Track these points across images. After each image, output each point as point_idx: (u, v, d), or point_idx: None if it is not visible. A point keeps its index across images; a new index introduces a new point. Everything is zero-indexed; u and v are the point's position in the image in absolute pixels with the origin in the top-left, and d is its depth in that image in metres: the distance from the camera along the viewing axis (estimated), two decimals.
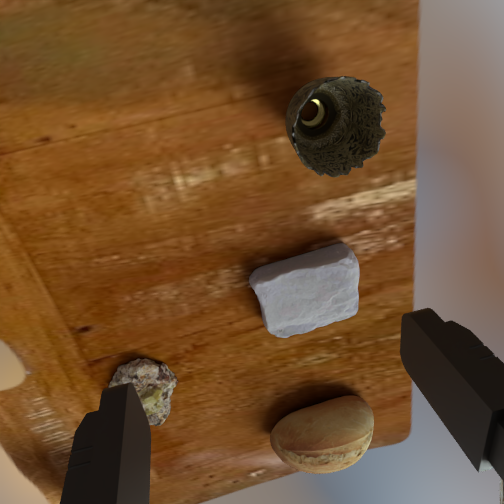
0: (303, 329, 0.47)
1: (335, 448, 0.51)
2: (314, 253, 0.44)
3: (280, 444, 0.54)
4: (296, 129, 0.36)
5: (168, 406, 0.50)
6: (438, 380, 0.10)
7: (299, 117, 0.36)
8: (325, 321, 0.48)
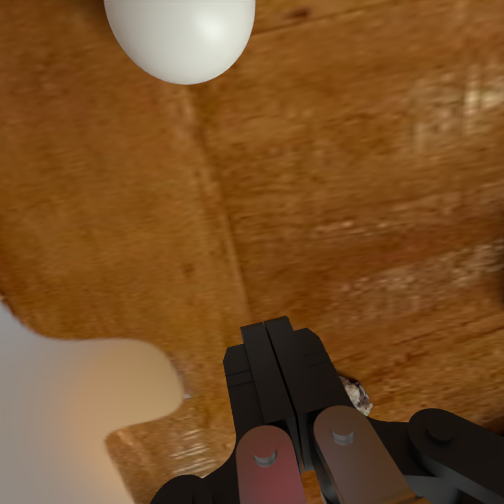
0: None
1: None
2: None
3: None
4: None
5: None
6: None
7: None
8: None
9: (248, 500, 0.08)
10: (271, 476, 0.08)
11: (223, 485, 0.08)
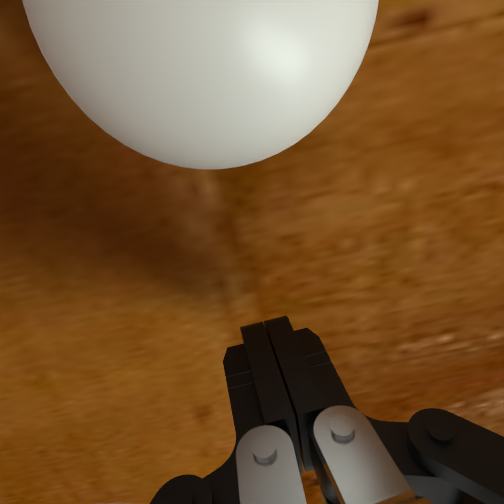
0: None
1: None
2: None
3: None
4: None
5: None
6: None
7: None
8: None
9: (248, 500, 0.08)
10: (271, 476, 0.08)
11: (223, 485, 0.08)
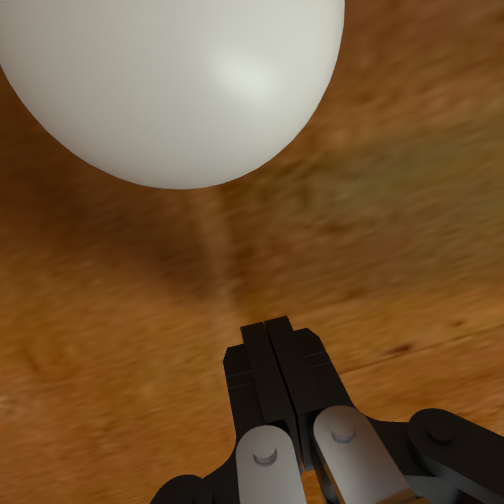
0: None
1: None
2: None
3: None
4: None
5: None
6: None
7: None
8: None
9: (248, 500, 0.08)
10: (271, 476, 0.08)
11: (223, 485, 0.08)
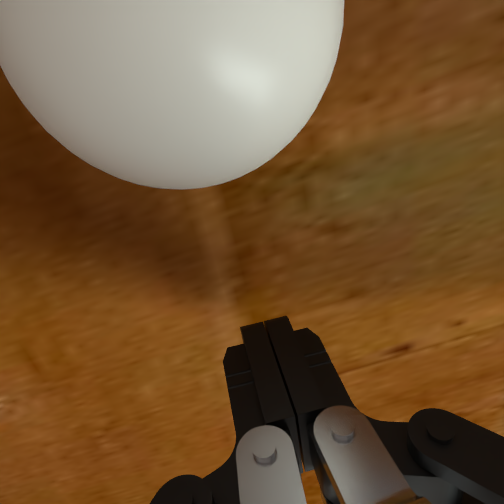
0: None
1: None
2: None
3: None
4: None
5: None
6: None
7: None
8: None
9: (248, 500, 0.08)
10: (271, 476, 0.08)
11: (223, 485, 0.08)
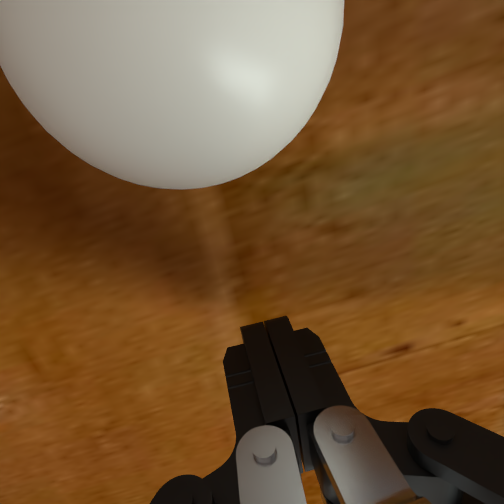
0: None
1: None
2: None
3: None
4: None
5: None
6: None
7: None
8: None
9: (248, 500, 0.08)
10: (271, 476, 0.08)
11: (223, 485, 0.08)
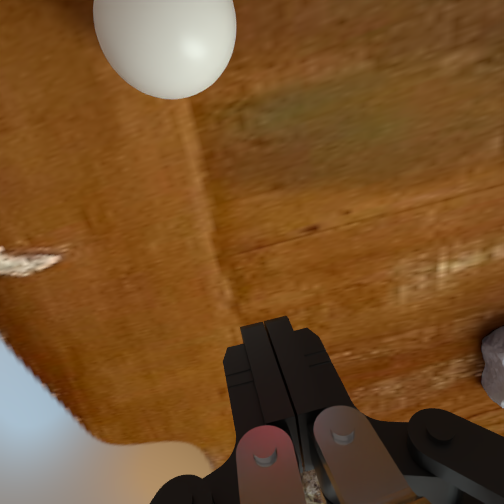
0: None
1: None
2: None
3: None
4: None
5: None
6: None
7: None
8: None
9: (248, 500, 0.08)
10: (271, 476, 0.08)
11: (224, 485, 0.08)
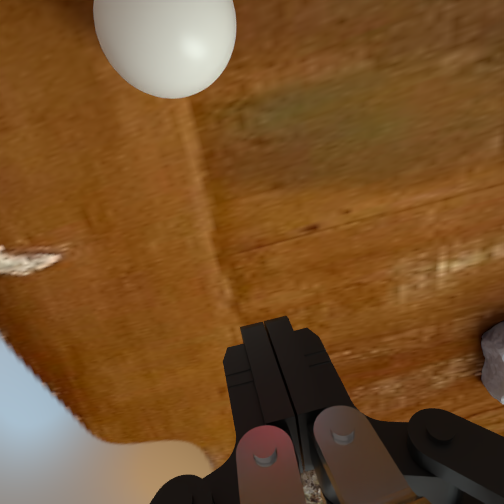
0: None
1: None
2: None
3: None
4: None
5: None
6: None
7: None
8: None
9: (248, 500, 0.08)
10: (271, 476, 0.08)
11: (224, 485, 0.08)
